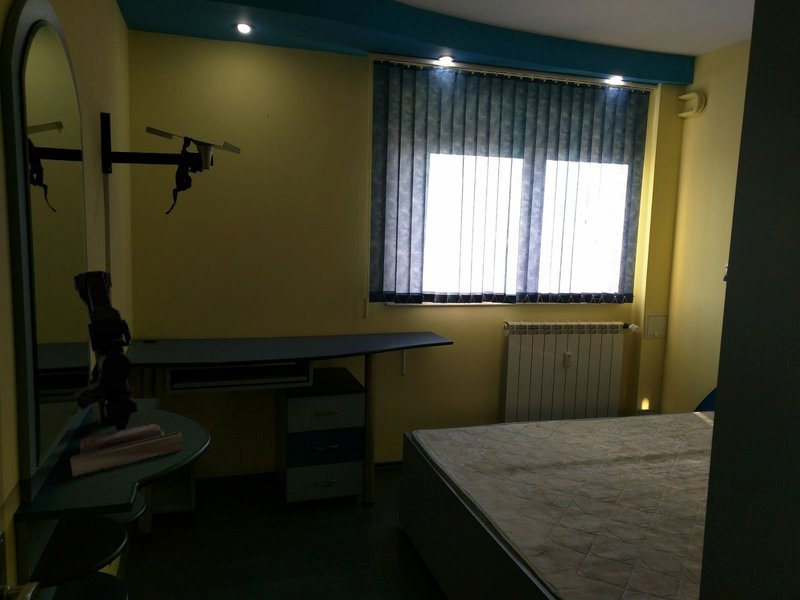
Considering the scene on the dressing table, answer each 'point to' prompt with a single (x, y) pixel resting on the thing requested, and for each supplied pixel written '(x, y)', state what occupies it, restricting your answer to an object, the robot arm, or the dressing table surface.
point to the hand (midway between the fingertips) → (121, 434)
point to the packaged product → (119, 438)
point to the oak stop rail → (126, 453)
